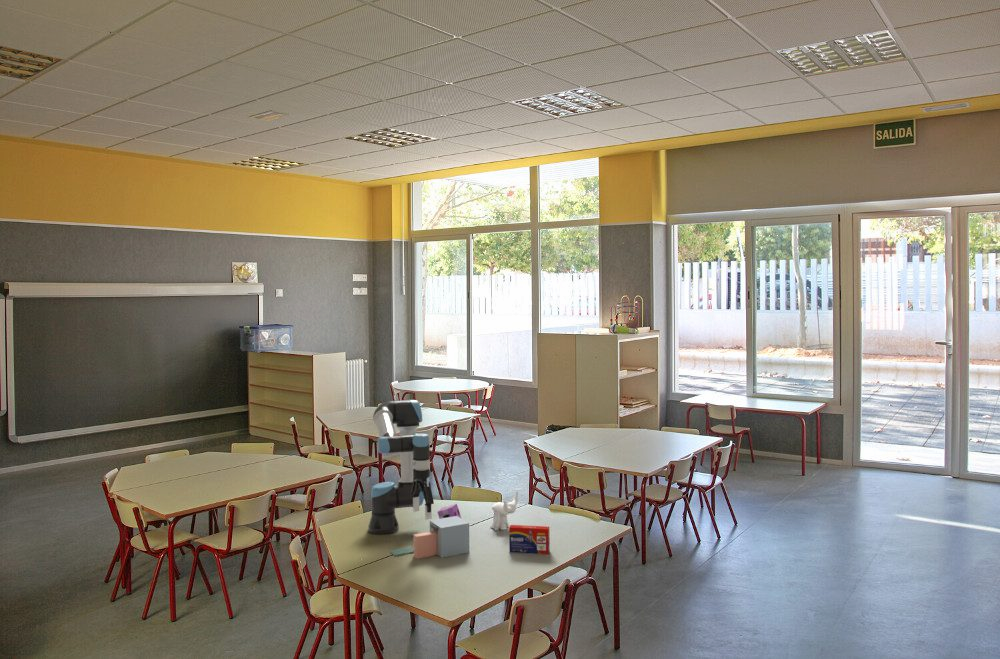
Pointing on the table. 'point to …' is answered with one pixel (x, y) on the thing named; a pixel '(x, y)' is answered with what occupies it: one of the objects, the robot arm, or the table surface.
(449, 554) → the pale blue cube
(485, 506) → the table surface
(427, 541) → the long salmon pink block
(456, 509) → the toy
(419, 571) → the table surface
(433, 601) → the table surface
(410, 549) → the mat
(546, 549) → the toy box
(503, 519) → the toy animal
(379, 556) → the table surface
